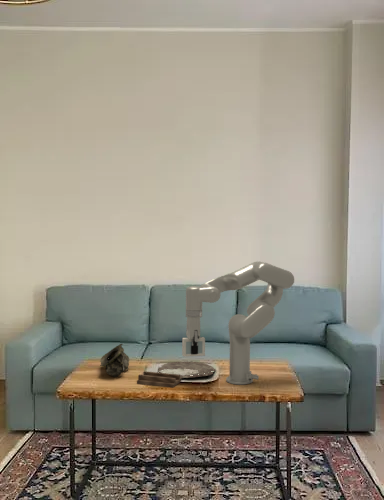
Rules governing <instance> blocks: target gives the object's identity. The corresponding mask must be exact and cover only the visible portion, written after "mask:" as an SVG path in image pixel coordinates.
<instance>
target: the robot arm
mask: <svg viewBox="0 0 384 500" xmlns="http://www.w3.org/2000/svg"><path fill="white" fill-rule="evenodd" d="M258 281H262V282H264V283H267V287H266V288H265V289H264V291H263V292H262V293H261V294H260V295H259V296H258V297H256V298H255V299H254V300H253V301H252V302H251V303H250V304H248V306H247V309H246V313H247V315H244V314H241V313H238V314H234V315H232V316H231V317H230V319H229V321H228V334H229V376H226V378H225V380H226V382H227V383H228V384H232V385H239V386H240V385H243V386H244V385H248V384H252V383H253V382H254V380H259V375H258V374H253V373H252V370H251V367H250V366H251V340H250V339H253V338H254V337H255V336H257V335H258V334H259V333H260V332H262V330H264V329H265V328H266V327H267V326H268V325H270V323H271V322H272V321H273V320H274V318H275V315H276V314H275V313H276V311H275V307H276V306H277V305H278V304H279V303H280V301H281V300H282V298H283V293H284V289H285V290H287V289H290V288H291V287H292V286H293V285H294V283H295V276H294V274H293V273H292V272H290V271H289V270H287V269H284V268H281V267H278V266H276V265H274V264H273V265H272V264H270V263H268V262H265V261H264V262H263V261H254V262H251V263H249V264H248V265H245V266H243V267H242V268H240V269H237V270H235V271H233V272H230V273H227V274H224V275H221V276H218V277H215V278H213V279H211V280H208V281H206V282H205V283H203V284H201V285H200V286H198V285H192V286H191V285H190V286H187V287H186V289H185V317H186V333H185V335H186V338H189V339H192V345H191V354H198V339H199V338H200V337H201V318H202V317H203V303H208V304H209V303H210V304H212V303H216V302H218V301H219V300H220V299H221V293H223V292H228V291H237V290H241V289H243V288H245V287H247V286H250V285H251V284H253V283H256V282H258ZM193 338H195V339H193ZM193 340H194V341H193Z"/></svg>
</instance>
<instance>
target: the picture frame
mask: <svg viewBox="0 0 384 500" xmlns="http://www.w3.org/2000/svg"><path fill="white" fill-rule="evenodd" d="M193 339H195V338H193ZM193 341H194V340H193ZM181 342H182V344H181V346H182V347H181V355H182V357H183V358H184V357H205V356H206V338H205V337H204V336H202V337H201V336H200V338H199V339H198V354H191V345H192V339H189V338H188V337H182V341H181Z"/></svg>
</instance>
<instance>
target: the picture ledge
mask: <svg viewBox="0 0 384 500" xmlns="http://www.w3.org/2000/svg"><path fill="white" fill-rule="evenodd" d="M180 375H181V374H179V373H178V374H176V373H167V372H166V373H165V372H162V373H159V372H157V371H155V372H154V371H147V370H146V371H145V370H144V371H143V373H142V374H138V377H137V380H136V384H137V385H146V386H153V387H154V386H155V387H165V388H175V387H176V386H177V385H179V384H180V383H181V382H182V378H180ZM180 379H181V380H180Z"/></svg>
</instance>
